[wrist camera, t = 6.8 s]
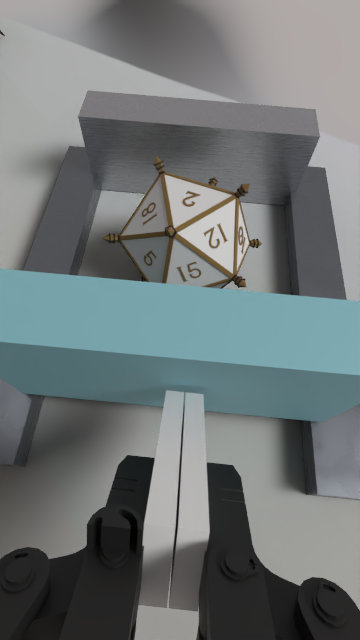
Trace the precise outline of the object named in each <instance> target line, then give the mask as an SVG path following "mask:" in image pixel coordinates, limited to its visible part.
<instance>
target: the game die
mask: <svg viewBox="0 0 360 640" xmlns="http://www.w3.org/2000/svg"><path fill="white" fill-rule="evenodd" d="M153 165H154V166H155V167H156V170H157V171H158V172H159V175H158V176H157V178H156V180H155V181H154V183H153V184H152V186H151V187H150V189H149V190H148V192H147V193H146V195H145V196H144V198H143V200H142V201H141V203H140V204H139V206H138V207H137V209H136V210H135V212H134V213H133V215H132V216H131V218H130V220H129V221H128V223H127V224H126V226H125V227H124V229H123V230H122V232H121V233H120V235H118V236H117V235H115V234H110V233H109V234H108V235H107V236H105V237H103V239H105V240H106V241H108V242H109V243H110V242H113V243H115V242H120V244H121V245H122V247H123V248H124V250H125V251H126V252H127V254H128V255H129V257H130V258H131V260H132V261H133V263H134V264H135V265H136V267H137V268H138V270H139V271H140V273H141V274H142V276H143V277H142V282H153V283H164V284H175V285H186V286H197V287H209V288H220V289H222V288H223V287H225V286H226V285H227V284H229V283H230V282H231V281H234V283H235V285H237V286H238V288H239V287H246V283H245V279H243V278H242V277H239V276H237V274H238V272H239V269H240V267H241V264H242V262H243V260H244V257H245V255H246V253H247V250H248V248H249V246H251V247H253V248H254V247H256V248H258V246H260V245H261V244H262V243H261V242H260V241H258V239H256V240H255V239H253V240H251V241H250V240H249V236H248V232H247V228H246V224H245V220H244V216H243V212H242V208H241V204H240V200H239V198H240V197H241V196H245V194H246V193H248V189H249V186H250V183H249V184H241V186H240V188H238V189H237V192H235V193H234V192H231V191H228V190H224V189H221V188H218V187H215V186H216V184H217V182H218V181H217V179H216V177H214V178H212V179H209V180H210V181H209V182H208V183H209V185H208V184H204V183H201V182H198V181H194V180H191V179H188V178H185V177H181V176H178V175H175V174H171V173H168V172H165V171H164V166H165V165H163V161H162V160H161V159H159V158H158V157H157V156H156V155H155V162H154V164H153Z"/></svg>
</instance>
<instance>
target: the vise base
mask: <svg viewBox="0 0 360 640" xmlns="http://www.w3.org/2000/svg"><path fill="white" fill-rule="evenodd" d="M78 118H79V122H80V126H81V130H82V135H83V139H84V143H85V147H86V148H85V147H73V146H69V148H68V151H67V153H66V156H65V159H64V161H63V164H62V167H61V170H60V172H59V175H58V178H57V180H56V183H55V186H54V188H53V191H52V194H51V196H50V199H49V202H48V205H47V207H46V210H45V213H44V215H43V218H42V221H41V223H40V226H39V229H38V231H37V234H36V237H35V240H34V242H33V245H32V248H31V250H30V253H29V256H28V258H27V261H26V264H25V266H24V269H23V271H32V272H43V273H54V274H65V275H76V276H78V272H79V269H80V265H81V261H82V258H83V254H84V251H85V247H86V243H87V240H88V236H89V233H90V229H91V225H92V222H93V218H94V215H95V211H96V207H97V204H98V200H99V197H100V193H101V190H112V191H123V192H135V193H147V192H148V190H149V189H150V187H151V186H152V184H153V183H154V181H155V180H156V178H157V176H158V175H159V172H158V171H157V170H156V167H155V166H154V165H153V164H154V162H155V155H156V156H157V157H158V158H159V159H161V160H162V161H163V165H165V166H164V171H165V172H168V173H171V174H175V175H178V176H181V177H185V178H188V179H191V180H194V181H198V182H201V183H204V184H208V185H209V183H208V182H209V181H210V180H209V179H212V178H214V177H216V179H217V181H218V182H217V184H216V186H215V187H218V188H221V189H224V190H228V191H231V192H234V193H235V192H237V189H238V188H240V186H241V184H249V183H250V186H249V189H248V193H246V194H245V196H241V197H240V198H239V200H240V202H250V203H261V204H273V205H284V206H285V217H286V231H287V244H288V257H289V270H290V283H291V295H297V296H308V297H319V298H330V299H341V300H347V299H346V293H345V287H344V281H343V275H342V269H341V263H340V257H339V250H338V244H337V238H336V232H335V226H334V220H333V214H332V208H331V201H330V195H329V189H328V183H327V177H326V171H325V168H320V167H308V164H309V161H310V159H311V156H312V154H313V152H314V149H315V147H316V144H317V142H318V140H319V137H320V135H319V129H318V123H317V116H316V110H315V109H303V108H290V107H279V106H267V105H254V104H243V103H231V102H219V101H207V100H195V99H183V98H171V97H158V96H146V95H134V94H122V93H110V92H98V91H88V92H87V94H86V97H85V100H84V102H83V105H82V108H81V110H80V113H79V116H78ZM43 399H44V395H34V394H24V393H21V392H19V391H18V390H17V389H15V388H14V387H13V386H11V385H10V384H8V383H7V382H6V381H4V380H3V379H1V378H0V465H10V466H20V467H25V463H26V460H27V456H28V453H29V449H30V445H31V442H32V438H33V435H34V431H35V427H36V424H37V420H38V417H39V413H40V409H41V406H42V402H43ZM301 429H302V442H303V455H304V469H305V482H306V495H314V496H324V497H334V498H344V499H354V500H360V404H358V405H356V406H354V407H352V408H350V409H348V410H346V411H344V412H342V413H340V414H338V415H336V416H334V417H332V418H330V419H328V420H326V421H324V422H316V421H306V420H301Z"/></svg>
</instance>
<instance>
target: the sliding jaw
mask: <svg viewBox="0 0 360 640" xmlns="http://www.w3.org/2000/svg"><path fill="white" fill-rule="evenodd" d="M0 378H1V379H3V380H4V381H6V382H7V383H8V384H10V385H11V386H13V387H14V388H15V389H17V390H18V391H19V392H21V393H24V394H34V395H45V396H55V397H66V398H76V399H87V400H97V401H107V402H118V403H128V404H139V405H149V406H160V407H164V401H165V395H166V390H168V391H178V392H184V401H183V409H184V403H185V393H186V392H188V393H198V394H203V395H204V411H212V412H222V413H233V414H243V415H253V416H264V417H274V418H285V419H295V420H306V421H316V422H324V421H326V420H328V419H330V418H332V417H334V416H336V415H338V414H340V413H342V412H344V411H346V410H348V409H350V408H352V407H354V406H356V405H358V404H360V301H352V300H341V299H330V298H319V297H308V296H297V295H286V294H275V293H264V292H253V291H242V290H231V289H220V288H209V287H197V286H186V285H175V284H164V283H153V282H142V281H131V280H120V279H109V278H98V277H87V276H76V275H65V274H54V273H43V272H32V271H21V270H10V269H0Z"/></svg>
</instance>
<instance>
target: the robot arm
mask: <svg viewBox="0 0 360 640" xmlns="http://www.w3.org/2000/svg"><path fill="white" fill-rule="evenodd" d="M183 401H184V392H178V391H168V390H166V395H165V401H164V407H163V413H162V419H161V425H160V431H159V437H158V443H157V449H156V455H155V458H149V457H140V456H130V455H127V456H126V458H125V459H124V460H123V461H122V462H121V463H120V464H119V465H118V468H117V471H116V474H115V478H114V481H113V484H112V487H111V491H110V494H109V497H108V500H107V504H106V507H104V508H101V509H100V510H98V511H97V512H96V513H95V514H93V515H92V517H91V519H90V520H89V522H88V524H87V546H86V547H85V548H84V549H82V550H80V551H78V552H76V553H74V554H70V555H67V556H63V557H58V558H53V559H48V557H47V555H46V554H45V553H44V552H42V551H41V550H39V549H37V548H30V547H27V548H22V549H17V550H14V551H13V552H11V553H9V554H7V555H5V556H4V557H2V558H1V559H0V640H134V638H135V631H136V618H137V610H138V605H146V606H155V607H164V608H167V599H168V590H169V581H170V572H171V585H170V600H169V608H172V609H181V610H190V611H198V606H199V626H198V633H197V639H196V640H360V610H359V609H358V607H357V606H356V604H355V603H354V601H353V600H352V599H351V598H350V596H349V595H348V594H347V593H346V592H345V591H344V590H343V589H342V588H340V587H339V586H338V585H336V584H335V583H333V582H331V581H329V580H326V579H324V578H314V577H312V578H310V579H307V580H305V581H303V583H302V584H301V586H298V585H296V584H294V583H292V582H289V581H287V580H285V579H283V578H280V577H279V576H277V575H275V574H273V573H272V572H270V571H269V570H268V569H267V568H266V567H265V566H264V565H263V564H262V563H261V562H260V560H259V558H258V557H257V556H256V554H255V552H254V548H253V545H252V540H251V534H250V528H249V522H248V517H247V511H246V505H245V499H244V493H243V488H242V482H241V477H240V475H239V474H238V472H237V471H236V469H235V468H234V466H233V465H226V464H216V463H207V461H206V439H205V417H204V395H203V394H198V393H188V392H186V393H185V403H184V412H183ZM182 417H183V421H182ZM172 554H173V556H172ZM171 563H172V571H171Z"/></svg>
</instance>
